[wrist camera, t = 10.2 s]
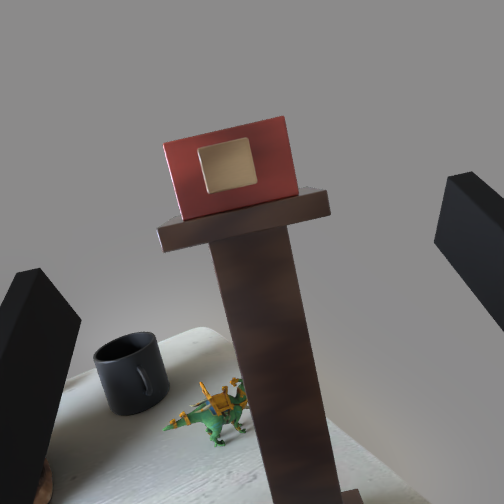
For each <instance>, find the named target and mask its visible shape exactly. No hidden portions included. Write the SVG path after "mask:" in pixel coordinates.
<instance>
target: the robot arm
mask: <svg viewBox="0 0 504 504" xmlns="http://www.w3.org/2000/svg"><path fill="white" fill-rule="evenodd" d="M434 243H435V244H436V246H437V247H438V248H439V250H440V251H441V252H442V254H444V256H445V257H446V259H448V261H449V262H450V264H451V265H452V266H453V268H454V269H455V270H456V271H457V273H458V274H459V275H460V276H461V278H462V279H463V280H464V282H465V283H466V284H467V285H468V287H469V288H470V289H471V291H472V292H473V293H474V294H475V296H476V297H477V298H478V300H479V301H480V302H481V303H482V305H483V306H484V307H485V308H486V310H487V311H488V312H489V314H490V315H491V316H492V317H493V319H494V320H495V321H496V322H497V324H498V325H499V326H500V328H501V329H502V330H503V331H504V198H502V197H501V196H500V195H499V194H498V193H497V192H495V191H494V190H493V189H492V188H491V187H490V186H488V185H487V184H486V183H485V182H484V181H482V180H481V179H480V178H479V177H478V176H477V175H476V174H474V173H473V172H467V173H463V174H458V175H454V176H449V177H448V178H447V183H446V187H445V192H444V197H443V201H442V206H441V211H440V217H439V220H438V225H437V230H436V234H435V239H434ZM80 324H81V319H80V317H79V316H78V315H77V314H76V312H75V311H74V310H73V309H72V307H71V306H70V305H69V304H68V302H67V301H66V300H65V298H64V297H63V296H62V295H61V293H60V292H59V291H58V290H57V288H56V287H55V286H54V285H53V283H52V282H51V281H50V280H49V278H48V277H47V276H46V275H45V273H44V272H43V271H42V270H41V268H37V269H32V270H28V271H23V272H19V273H16V275H15V277H14V279H13V281H12V283H11V286H10V288H9V290H8V292H7V294H6V296H5V298H4V300H3V302H2V304H1V306H0V504H33V503H34V499H35V495H36V491H37V487H38V484H39V480H40V476H41V472H42V468H43V465H44V461H45V457H46V453H47V449H48V446H49V442H50V438H51V434H52V430H53V427H54V423H55V419H56V415H57V412H58V408H59V404H60V400H61V396H62V393H63V389H64V385H65V381H66V377H67V374H68V370H69V366H70V362H71V358H72V355H73V351H74V347H75V343H76V339H77V335H78V332H79V328H80Z"/></svg>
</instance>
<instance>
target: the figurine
mask: <svg viewBox="0 0 504 504" xmlns="http://www.w3.org/2000/svg"><path fill="white" fill-rule="evenodd" d="M237 382H242V383H241V384H240V385H239V386H238V388H237V394H236V397H233V396H231V395H228V394H227V393H228V387H227V386H222V390H223V391H224V392H222V393H221V394H216V395H213V396H210V394H209V393H208V391H207V390H206V388H205V386H204V384H203V383H202V382H200V386H201V387H202V389H203V390H202V391H203V393H204V394H205V396H206V397H207V399H204V400H202V401H200V402H199V403H197V404H195V405H189V406H193V407H194V406H199V405H200V406H199V407H198V408H196V409H195V410H194V411H192V412H191V413H189V414H187V415H186V414H185V412H184V411H183V412H182V413H181V414H180V417H181V419H180V420H178V421H175V419H172V420H171V421H170V425H168V426H167V427H165V428H164V429H163V431H166V430H170V429H176V428H178V427H181V426H184V425H191V424H192V423H196V422H202V423H204V424H205V425H206V426H207V429H206V432H208V434H209V435H211V437H210V440H213V441H214V442H215V446H214V447H216V445H219V446H225V442H224V441H223V440H221V441H218V440H217V438H219V437H220V433H221V430H222V425H224V424H229V423H231V424H233V425H234V426H235V429H236V430H237V431H239V432H240V433H246V431H245V430H246V429H243V430H241V428H240V427H239V426H241V425H242V424H239V423H238V421H239V419H240V417H241V414H242V410H243V409H250V408H249V406H247V402H248V400H247V397H246V392H245V388H244V384H243V380H242V379H239V378H237V379H236V378H232V380H231V381H230V383H231V384H232V385H233V386H234V387H235V386H237V384H235V383H237ZM224 388H225V389H224ZM201 404H202V405H201ZM182 415H183V418H182Z"/></svg>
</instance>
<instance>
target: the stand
mask: <svg viewBox="0 0 504 504" xmlns="http://www.w3.org/2000/svg"><path fill="white" fill-rule="evenodd" d="M298 190H299V195H297V196H292V197H288V198H283V199H279V200H275V201H270V202H266V203H261V204H257V205H252V206H248V207H244V208H239V209H235V210H230V211H226V212H221V213H217V214H213V215H208V216H204V217H199V218H195V219H191V220H186V221H183V220H182V217H181V215H180V216H176V217H173V218H172V219H170V220H169V221H167V222H166V223H164V224H163V225H161V226H159V227H158V228H157V229H156V230H157V233H158V237H159V241H160V244H161V248H162V252H164V253H165V252H170V251H174V250H179V249H183V248H187V247H192V246H196V245H201V244H205V243H208V245H209V249H210V253H211V257H212V261H213V265H214V269H215V273H216V277H217V281H218V285H219V289H220V293H221V297H222V301H223V305H224V308H225V313H226V317H227V321H228V324H229V329H230V333H231V337H232V341H233V345H234V349H235V353H236V356H237V360H238V364H239V368H240V372H241V376H242V380H243V384H244V388H245V392H246V396H247V400H248V404H249V408H250V412H251V416H252V420H253V424H254V428H255V432H256V436H257V440H258V444H259V448H260V452H261V456H262V460H263V464H264V468H265V472H266V476H267V480H268V484H269V488H270V492H271V495H272V499H273V503H274V504H363V501H362V498H361V496H360V493H359V491H358V489H353V490H349V491H344V492H341V490H340V485H339V480H338V475H337V470H336V465H335V460H334V455H333V450H332V446H331V441H330V436H329V431H328V426H327V421H326V416H325V411H324V407H323V402H322V397H321V392H320V387H319V382H318V377H317V372H316V367H315V362H314V358H313V352H312V348H311V343H310V338H309V333H308V328H307V323H306V318H305V313H304V309H303V304H302V299H301V294H300V289H299V284H298V279H297V274H296V269H295V265H294V260H293V255H292V250H291V245H290V240H289V235H288V230H287V225H290V224H294V223H299V222H303V221H307V220H312V219H316V218H321V217H325V216H329V215H331V211H330V207H329V200H328V194H327V191H326V190H323V189H317V188H311V187H303V188H299V189H298Z"/></svg>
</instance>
